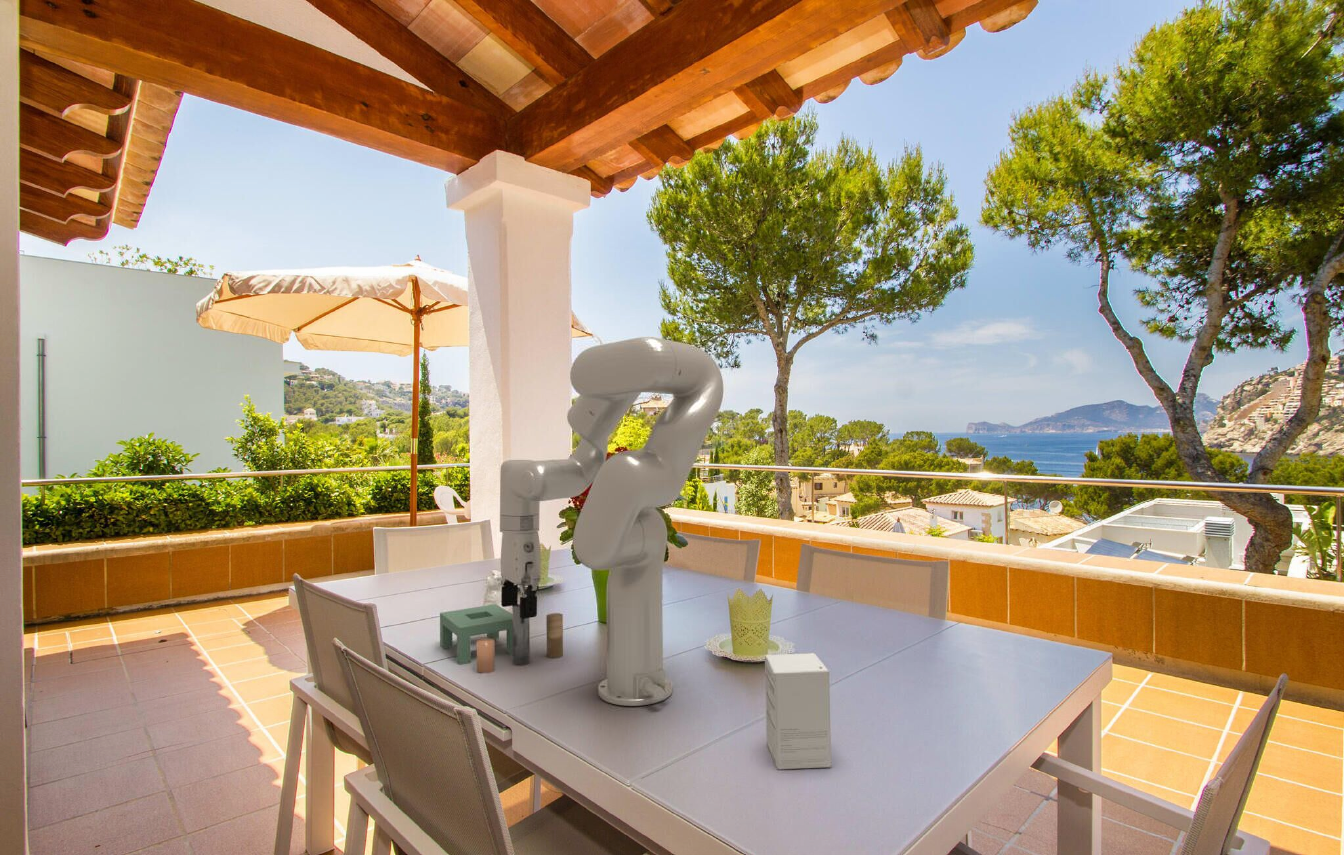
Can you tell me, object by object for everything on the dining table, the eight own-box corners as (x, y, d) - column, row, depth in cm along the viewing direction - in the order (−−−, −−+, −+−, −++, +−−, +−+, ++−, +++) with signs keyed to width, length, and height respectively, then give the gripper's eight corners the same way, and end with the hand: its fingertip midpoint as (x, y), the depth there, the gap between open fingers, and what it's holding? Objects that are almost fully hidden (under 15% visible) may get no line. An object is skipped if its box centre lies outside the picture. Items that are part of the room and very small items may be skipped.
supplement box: (817, 742, 92) (816, 652, 92) (832, 768, 85) (830, 670, 85) (765, 744, 92) (763, 653, 92) (775, 770, 84) (773, 671, 85)
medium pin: (565, 656, 130) (565, 615, 131) (550, 659, 129) (550, 618, 129) (558, 651, 133) (558, 612, 133) (544, 654, 131) (543, 614, 131)
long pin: (532, 663, 126) (531, 605, 127) (516, 666, 125) (516, 608, 125) (526, 658, 129) (525, 602, 129) (510, 662, 127) (510, 605, 127)
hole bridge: (519, 652, 133) (519, 617, 133) (460, 664, 126) (459, 627, 126) (495, 636, 144) (495, 604, 145) (440, 646, 138) (439, 612, 138)
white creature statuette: (470, 617, 160) (469, 568, 161) (505, 612, 164) (505, 564, 165) (477, 626, 152) (477, 574, 152) (514, 621, 156) (514, 571, 156)
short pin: (497, 670, 122) (496, 641, 123) (480, 674, 121) (479, 644, 121) (491, 666, 125) (491, 637, 125) (474, 669, 123) (474, 640, 123)
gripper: (556, 527, 122) (555, 619, 122) (521, 517, 137) (520, 599, 137) (517, 530, 118) (516, 625, 118) (485, 519, 132) (484, 604, 132)
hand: (518, 611), depth 127 cm, fingers open, 9 cm apart
